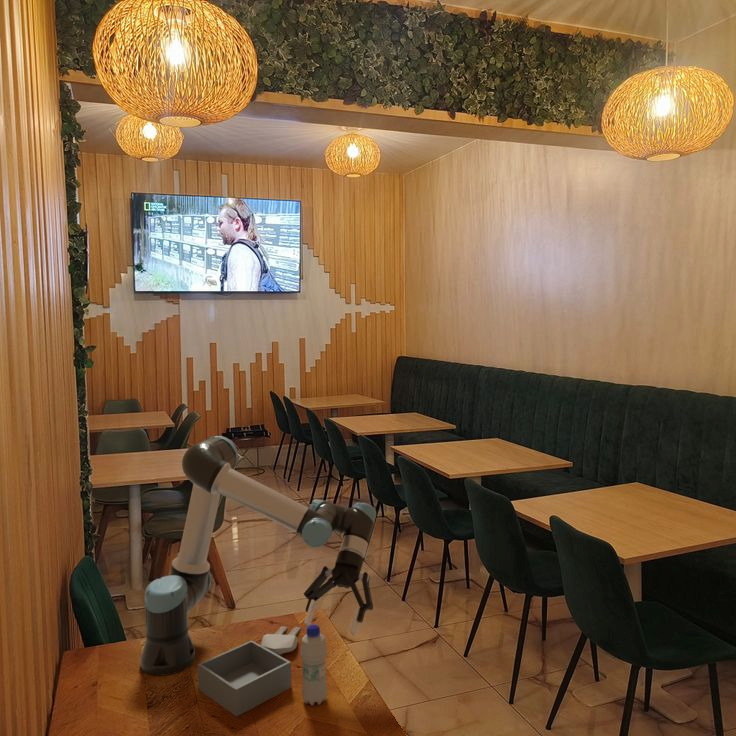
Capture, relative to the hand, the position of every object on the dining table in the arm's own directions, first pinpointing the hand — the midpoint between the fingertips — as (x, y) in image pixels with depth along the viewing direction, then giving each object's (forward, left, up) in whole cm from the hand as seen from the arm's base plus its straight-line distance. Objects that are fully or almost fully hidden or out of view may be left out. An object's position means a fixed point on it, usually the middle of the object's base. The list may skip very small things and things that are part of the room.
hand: (329, 629), depth 170 cm
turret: (-28, +6, -17) cm, 33 cm away
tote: (-17, -16, -16) cm, 28 cm away
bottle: (+1, -7, -16) cm, 18 cm away
